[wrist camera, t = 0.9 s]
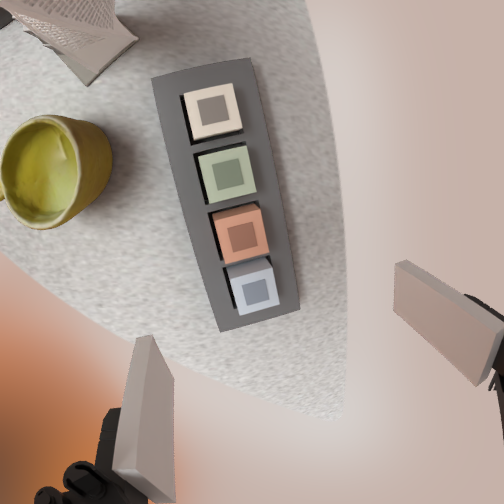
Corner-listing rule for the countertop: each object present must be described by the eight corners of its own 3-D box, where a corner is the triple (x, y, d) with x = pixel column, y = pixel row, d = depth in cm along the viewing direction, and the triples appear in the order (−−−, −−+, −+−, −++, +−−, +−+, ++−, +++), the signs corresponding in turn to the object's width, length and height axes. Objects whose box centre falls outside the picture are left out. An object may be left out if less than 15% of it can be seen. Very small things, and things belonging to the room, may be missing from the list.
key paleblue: (226, 266, 29) (229, 279, 26) (264, 256, 29) (272, 267, 26) (235, 300, 30) (239, 316, 27) (272, 290, 31) (279, 304, 28)
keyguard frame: (154, 84, 23) (151, 78, 21) (245, 65, 24) (250, 57, 22) (218, 320, 32) (220, 332, 30) (293, 298, 33) (300, 309, 31)
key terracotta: (212, 213, 27) (214, 221, 24) (253, 203, 27) (260, 209, 24) (222, 253, 28) (225, 264, 25) (261, 242, 29) (269, 252, 26)
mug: (125, 94, 21) (59, 118, 13) (131, 194, 27) (84, 252, 19) (31, 109, 21) (-34, 140, 13) (44, 192, 27) (-8, 239, 19)
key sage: (198, 156, 25) (198, 156, 22) (240, 146, 25) (246, 145, 22) (208, 198, 26) (209, 203, 23) (250, 187, 27) (256, 192, 24)
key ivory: (184, 100, 23) (183, 93, 20) (228, 90, 23) (232, 82, 21) (194, 141, 24) (193, 138, 22) (237, 130, 25) (242, 127, 22)
